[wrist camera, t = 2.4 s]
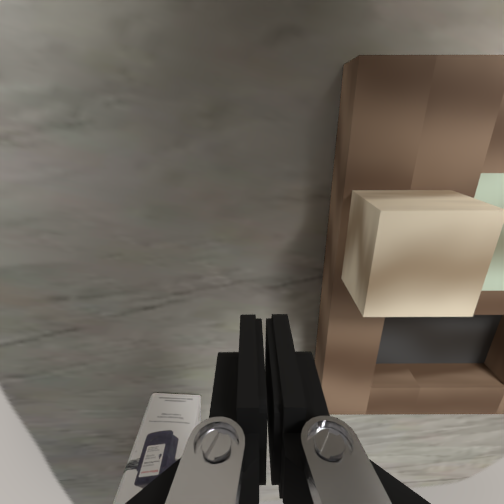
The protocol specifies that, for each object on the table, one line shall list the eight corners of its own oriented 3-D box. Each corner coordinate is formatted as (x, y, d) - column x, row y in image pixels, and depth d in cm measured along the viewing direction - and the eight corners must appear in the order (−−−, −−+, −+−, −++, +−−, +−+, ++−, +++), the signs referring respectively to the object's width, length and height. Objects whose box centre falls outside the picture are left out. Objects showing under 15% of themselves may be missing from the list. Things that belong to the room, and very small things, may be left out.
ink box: (202, 453, 33) (179, 618, 22) (155, 451, 33) (107, 616, 22) (202, 393, 29) (174, 553, 19) (150, 390, 29) (90, 550, 18)
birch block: (352, 190, 19) (380, 210, 15) (451, 190, 19) (507, 210, 15) (341, 278, 21) (363, 317, 17) (429, 277, 21) (472, 316, 17)
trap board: (343, 64, 19) (359, 55, 16) (740, 63, 19) (824, 53, 16) (312, 386, 29) (318, 414, 26) (568, 385, 29) (601, 413, 26)
